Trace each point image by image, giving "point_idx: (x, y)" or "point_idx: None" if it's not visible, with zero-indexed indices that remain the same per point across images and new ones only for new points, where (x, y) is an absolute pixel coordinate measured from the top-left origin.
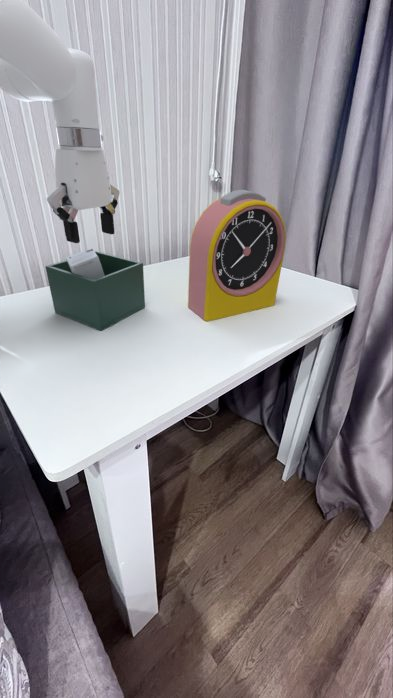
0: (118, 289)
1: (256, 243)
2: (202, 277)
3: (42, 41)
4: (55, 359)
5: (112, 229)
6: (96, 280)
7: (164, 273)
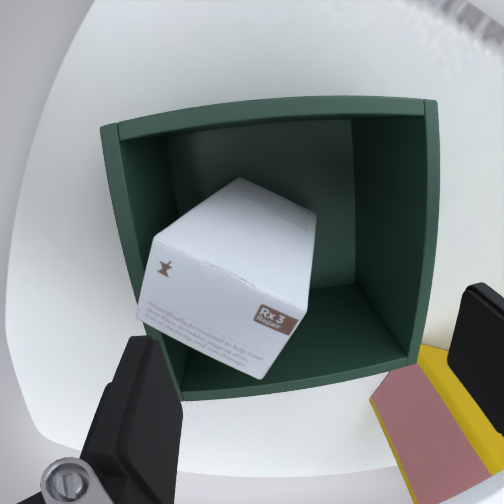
0: None
1: None
2: (410, 451)
3: None
4: (71, 324)
5: (461, 381)
6: (181, 400)
7: None
